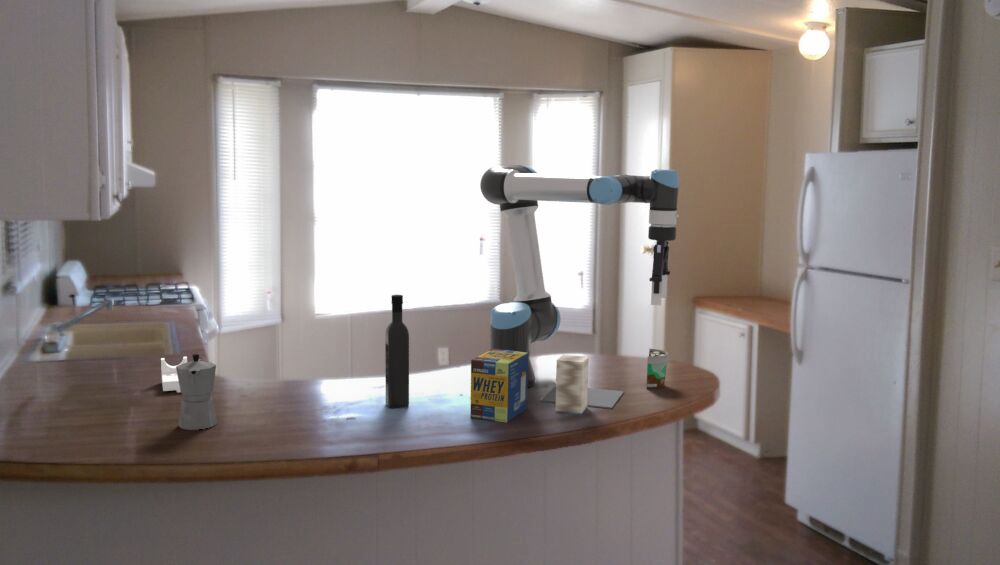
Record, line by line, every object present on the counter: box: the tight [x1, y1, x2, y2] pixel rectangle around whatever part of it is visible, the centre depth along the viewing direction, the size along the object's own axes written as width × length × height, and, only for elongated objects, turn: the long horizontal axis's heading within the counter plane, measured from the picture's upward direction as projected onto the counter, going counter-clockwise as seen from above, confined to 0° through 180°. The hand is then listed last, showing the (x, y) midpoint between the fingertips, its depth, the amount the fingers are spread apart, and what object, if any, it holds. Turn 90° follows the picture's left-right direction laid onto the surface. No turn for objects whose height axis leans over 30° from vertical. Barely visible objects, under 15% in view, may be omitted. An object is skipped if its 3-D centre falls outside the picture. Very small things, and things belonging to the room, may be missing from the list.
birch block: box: [555, 354, 590, 415], centre depth 246 cm, size 7×7×14 cm
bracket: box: [160, 356, 188, 393], centre depth 264 cm, size 13×7×8 cm, turn 22°
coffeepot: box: [175, 353, 218, 431], centre depth 228 cm, size 15×9×18 cm, turn 13°
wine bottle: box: [384, 294, 410, 409], centre depth 246 cm, size 6×6×30 cm
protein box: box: [470, 349, 528, 424], centre depth 242 cm, size 10×15×16 cm
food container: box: [646, 348, 670, 390], centre depth 273 cm, size 12×6×10 cm, turn 168°
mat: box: [539, 385, 625, 410], centre depth 260 cm, size 20×18×1 cm
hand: (658, 301), depth 259 cm, fingers open, 13 cm apart
